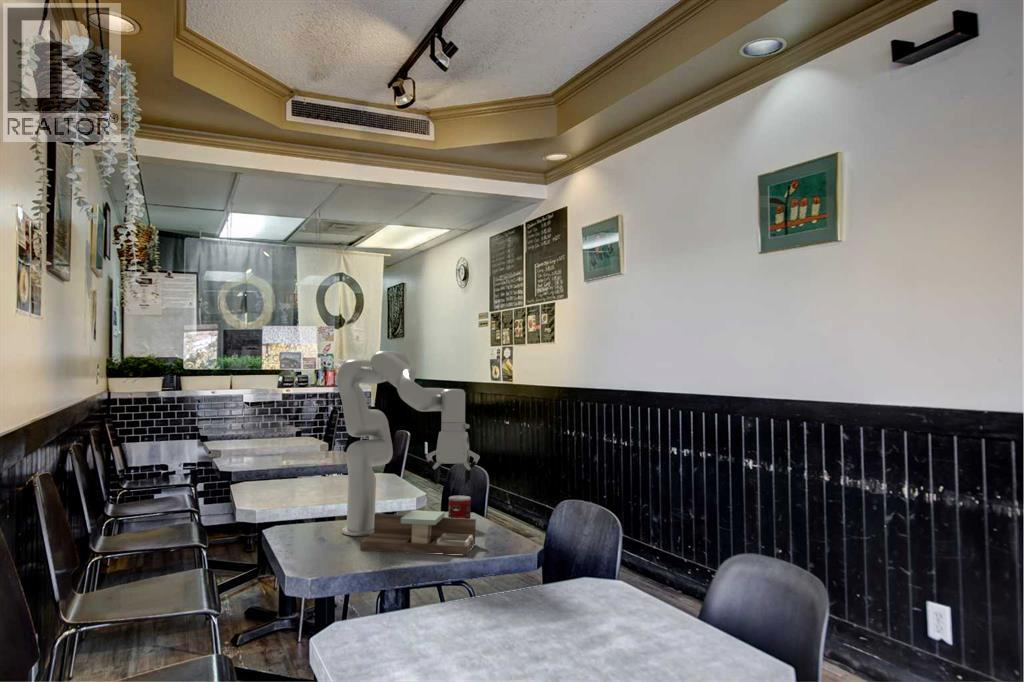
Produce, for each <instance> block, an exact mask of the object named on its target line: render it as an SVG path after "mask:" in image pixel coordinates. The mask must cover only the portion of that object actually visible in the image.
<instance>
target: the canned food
mask: <svg viewBox="0 0 1024 682" xmlns="http://www.w3.org/2000/svg"><path fill="white" fill-rule="evenodd" d="M471 505H472V498H471V496H469V495H468V496H467V495H451V496H449V497H448V512H447V513H448V517H447V518H466V519H471V510H472V509H471V507H472V506H471Z"/></svg>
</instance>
